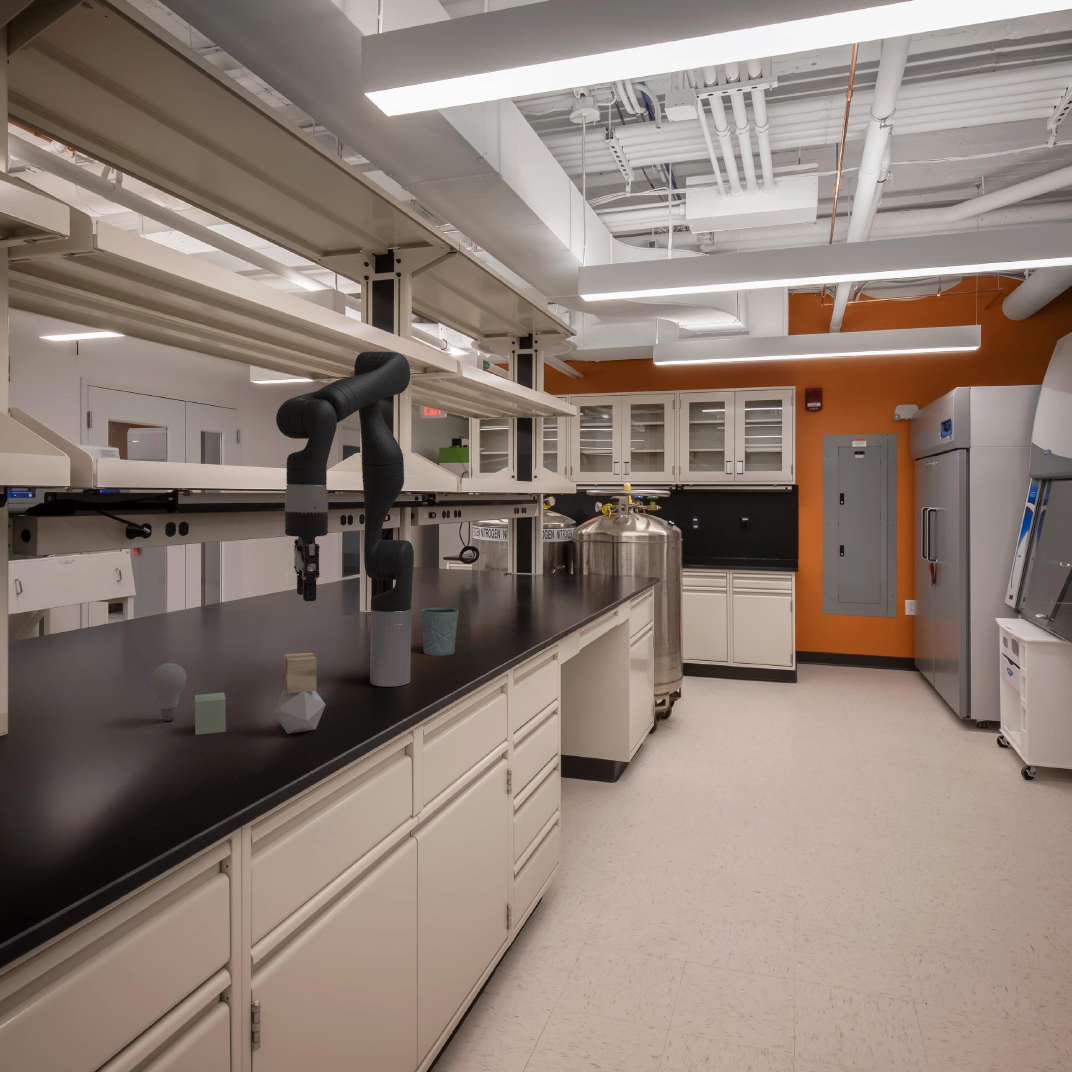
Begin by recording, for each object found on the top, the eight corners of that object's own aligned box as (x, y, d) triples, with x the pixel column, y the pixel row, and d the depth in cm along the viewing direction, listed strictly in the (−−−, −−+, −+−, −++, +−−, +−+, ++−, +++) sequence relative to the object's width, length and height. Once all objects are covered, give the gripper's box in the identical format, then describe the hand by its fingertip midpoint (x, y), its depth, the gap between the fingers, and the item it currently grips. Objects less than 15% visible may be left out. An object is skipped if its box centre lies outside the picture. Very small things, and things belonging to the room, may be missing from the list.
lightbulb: (192, 720, 141) (192, 663, 140) (158, 727, 136) (158, 668, 136) (178, 713, 145) (178, 658, 144) (145, 720, 140) (145, 663, 140)
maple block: (284, 686, 138) (284, 654, 138) (312, 683, 140) (312, 652, 140) (287, 693, 134) (287, 660, 133) (316, 690, 136) (316, 658, 135)
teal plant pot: (414, 654, 204) (415, 610, 203) (431, 647, 213) (431, 606, 213) (448, 657, 201) (449, 613, 200) (463, 650, 210) (464, 608, 210)
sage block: (195, 726, 137) (195, 694, 137) (224, 723, 140) (224, 692, 139) (195, 735, 133) (195, 702, 133) (225, 731, 135) (225, 699, 135)
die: (318, 723, 143) (288, 683, 142) (342, 709, 138) (310, 668, 137) (288, 749, 136) (256, 708, 136) (312, 736, 131) (279, 693, 131)
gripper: (334, 511, 131) (333, 602, 132) (321, 508, 144) (321, 591, 145) (289, 510, 128) (289, 604, 129) (280, 508, 141) (280, 593, 142)
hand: (306, 597), depth 137 cm, fingers open, 8 cm apart
